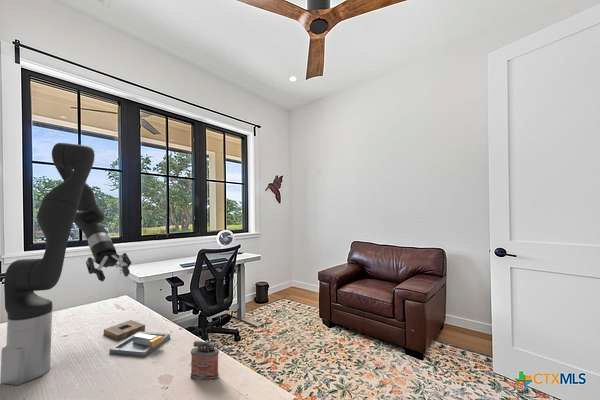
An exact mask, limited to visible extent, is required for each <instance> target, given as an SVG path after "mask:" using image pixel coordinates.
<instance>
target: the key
mask: <svg viewBox="0 0 600 400" xmlns="http://www.w3.org/2000/svg"><path fill="white" fill-rule="evenodd" d="M161 342H163V336H155V335H149V334H143V333H138V334H136V335H134V336H133V343H136V344H142V345H147V346H149V347H154V346H155V345H157V344H159V343H161Z"/></svg>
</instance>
